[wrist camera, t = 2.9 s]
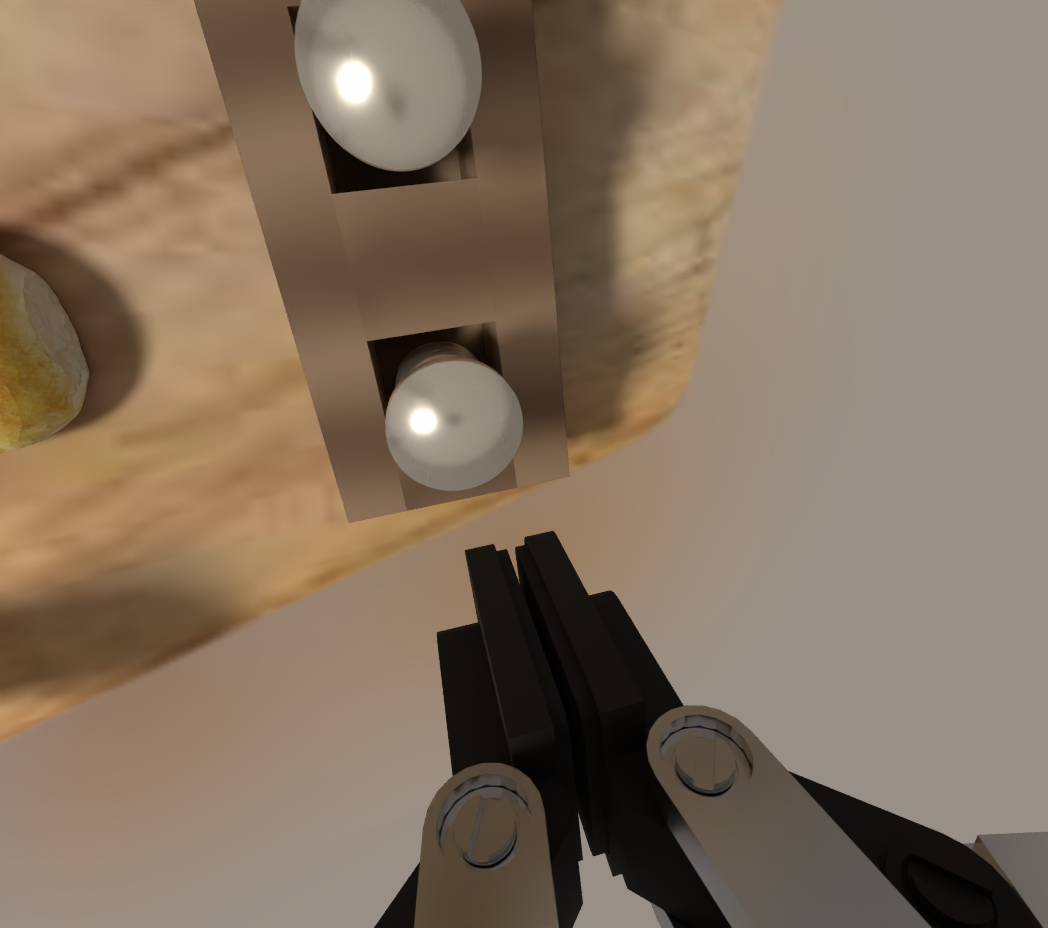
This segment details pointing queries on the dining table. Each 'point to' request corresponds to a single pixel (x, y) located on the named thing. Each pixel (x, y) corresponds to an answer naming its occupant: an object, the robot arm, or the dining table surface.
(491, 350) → the mount board
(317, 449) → the dining table surface
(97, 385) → the dining table surface
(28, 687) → the dining table surface
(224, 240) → the dining table surface
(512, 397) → the knob
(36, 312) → the bread roll
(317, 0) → the knob
